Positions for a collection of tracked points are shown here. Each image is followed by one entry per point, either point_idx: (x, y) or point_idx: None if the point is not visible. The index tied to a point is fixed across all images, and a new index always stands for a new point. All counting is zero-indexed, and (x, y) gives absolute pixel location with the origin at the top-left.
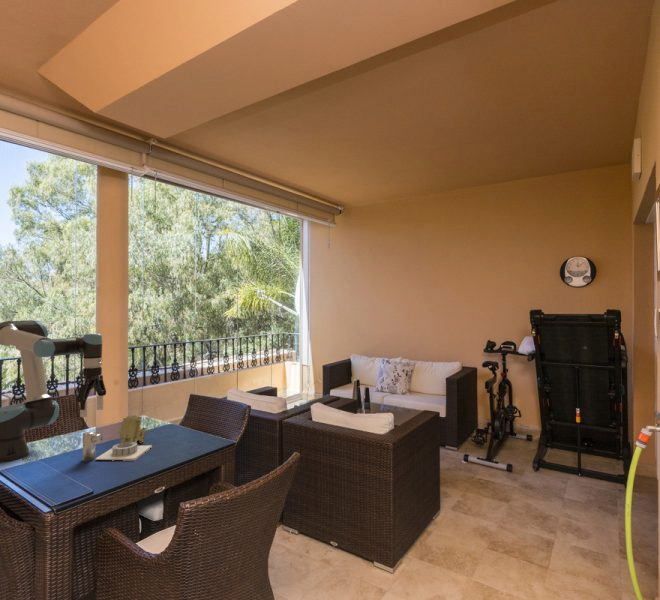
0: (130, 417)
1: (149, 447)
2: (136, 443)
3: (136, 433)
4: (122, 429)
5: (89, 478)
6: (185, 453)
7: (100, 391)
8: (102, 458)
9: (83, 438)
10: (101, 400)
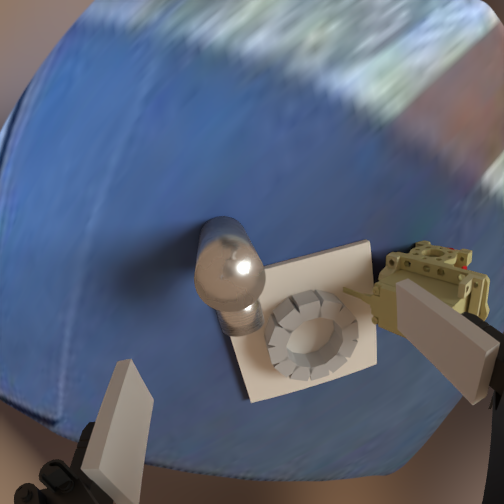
0: (477, 301)
1: (357, 370)
2: (340, 364)
3: None
4: None
5: (92, 373)
6: (325, 456)
7: (493, 446)
8: None
9: (196, 261)
10: (447, 367)
